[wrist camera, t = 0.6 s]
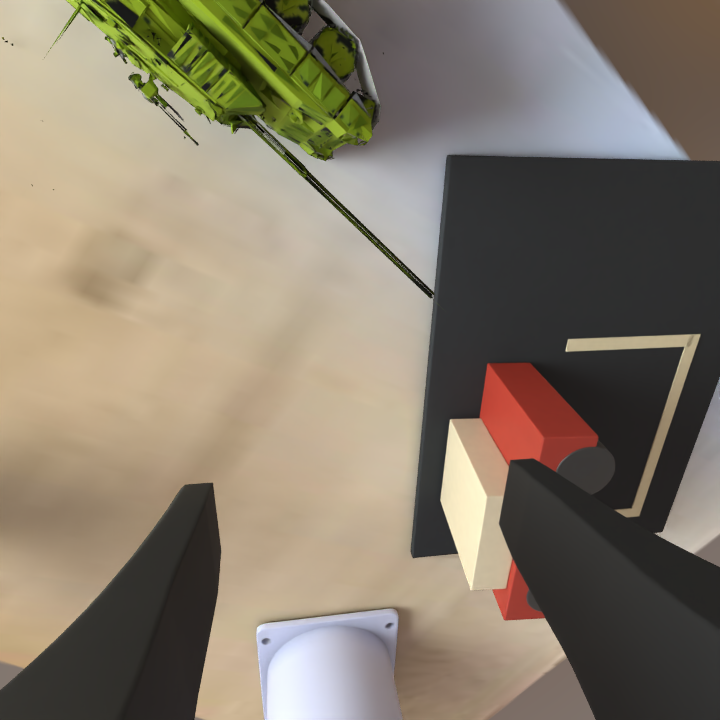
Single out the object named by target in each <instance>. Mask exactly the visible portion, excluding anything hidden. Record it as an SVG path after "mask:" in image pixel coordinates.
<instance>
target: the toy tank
mask: <svg viewBox="0 0 720 720" xmlns="http://www.w3.org/2000/svg"><path fill="white" fill-rule="evenodd" d="M66 1H67V2H68V3H70V4H71V5H72V6H73V7H74V8H75V9H76V10H75V12H74V13H73V15H72V16H71V18H70V19H69V21H68V23H69V22H70V20H71V19H72V18H73V19H72V20H71V22H72V21H73V20H74V18H75V17H76V15H77V14H78V13H81V14H82V15H83V16H84V17H85V18H86V19H87V20H88V21H91V22H92V23H93V24H95V25H96V26H97V27H98V28H99V29H100V30H101V31H103V32H104V33H105V34H106V35H107V37H105V40H108V41H109V42H110V43H111V44H113V45H114V47H115V48H116V49H115V48H114V47H113V48H114V49H115V53H113V54H114V56H115V57H117V56H119V55H120V56H121V57H122V59H123V61H124V62H125V63H127V62H126V60H125V59H124V58H125V57H127V56H128V57H127V58H129V60H130V61H131V62H132V64H134V65H135V66H136V67H138V68H140V69H142V70H143V71H145V72H146V73H147V74H148V73H150V76H149V81H148V82H147V83H146V84H145V83H142V81H141V77H142V76H141V75H139V74H133V75H130V76H129V77H128V79H129V80H131V81H132V83H133V84H134V86H135V88H136V89H138V88H139V89H140V90H141V91H142V92H143V93H144V94H143V93H142V94H143V96H144V98H145V99H146V100H148V101H149V102H150V103H153V102H154V103H155V105H156V106H159V105H158V104H159V103H158V102H157V101H158V100H159V101H160V102H161V103H162V104H163V105H164V106H163V105H161V106H162V107H163V108H164V109H165V110H166V108H165V107H167V106H169V107H170V108H171V109H172V110H173V111H174V112H175V113H176V114H177V115H178V117H179V118H181V119H182V117H181V116H180V115H179V114H178V112H177V111H176V110H174V109H173V108H172V107H171V106H170V105H169V104H168V103H167V102H166V101H165V100H164V99H163V98H162V97H161V96H160V95H159V94H158V88H157V87H156V85H155V84H154V82H153V80H155V79H157V78H158V79H159V80H160V81H161V82H163V83H164V84H165V85H166V86H167V87H168V88H170V89H171V90H172V91H174V92H175V93H177V94H178V95H179V96H181V97H182V98H183V99H185V100H186V101H187V102H189V103H190V104H191V105H192V106H194V107H195V108H196V109H195V111H196V112H197V113H198V114H199V115H200V116H201V114H204V115H206V117H207V119H208V120H209V118H210V119H211V120H212V121H214V120H217V121H218V122H219V123H220V124H221V125H222V124H225V125H231V126H230V127H231V131H232V134H233V133H234V131H235V130H236V129H237V128H238V127H239V128H248V129H252V130H253V131H254V132H255V133H256V134H257V135H258V136H259V137H261V138H262V139H263V140H264V141H265V142H266V143H267V144H268V145H269V146H270V147H271V148H272V149H273V150H274V151H275V152H276V153H278V154H279V155H280V156H281V157H282V158H283V159H284V160H285V161H286V162H288V164H289V165H290V166H291V167H292V168H293V169H294V170H296V171H297V172H298V173H299V175H301V176H302V177H303V178H304V179H306V180H307V181H308V182H309V183H310V184H311V185H312V186H313V187H314V188H315V189H316V190H317V191H318V192H319V193H320V194H321V195H323V196H324V197H325V198H326V199H327V200H328V201H329V202H330V203H331V204H332V205H333V206H334V207H335V208H336V209H337V210H338V211H339V212H340V213H341V214H342V215H344V216H345V217H346V218H347V219H348V220H349V221H350V222H351V223H352V224H353V225H354V226H355V227H356V228H357V229H358V230H359V231H360V232H361V233H362V234H363V235H364V236H366V237H367V238H368V239H369V240H370V241H371V242H372V243H373V244H374V245H375V246H376V247H377V248H378V249H379V250H380V251H381V252H382V253H383V254H384V255H385V256H386V257H388V258H389V259H390V260H391V261H392V262H393V263H394V264H395V265H396V266H397V267H398V268H399V269H400V270H401V271H402V272H403V273H404V274H405V275H406V276H407V277H408V278H410V279H411V280H412V281H413V282H414V283H415V284H416V285H417V286H418V287H419V288H420V289H421V290H422V291H423V292H424V293H425V294H426V295H427V296H428V297H429V298H433V297H432V296H433V295H435V293H434V292H433V291H432V290H431V289H430V288H428V287H427V286H426V285H425V284H424V283H423V282H422V281H421V280H420V279H419V278H418V277H417V276H416V275H415V274H414V273H413V272H412V271H411V270H410V269H409V268H408V267H407V266H406V265H405V264H404V263H403V262H401V261H400V260H399V259H398V258H397V257H396V256H395V255H394V254H393V253H392V252H391V251H390V250H389V249H388V248H387V247H386V246H385V245H384V244H383V243H382V242H381V241H380V240H379V239H378V238H377V237H376V236H375V235H373V234H372V233H371V232H370V231H369V230H368V229H367V228H366V227H365V226H364V225H363V224H362V223H361V222H360V221H359V220H358V219H357V218H356V217H355V216H354V215H353V214H352V213H351V212H350V211H349V210H348V209H347V208H345V207H344V206H343V205H342V204H341V203H340V202H339V201H338V200H337V199H336V198H335V197H334V196H333V195H332V194H331V193H330V192H329V191H328V190H327V189H326V188H325V187H324V186H323V185H322V184H321V183H320V182H319V181H318V180H317V179H316V178H315V177H314V176H313V175H312V174H311V173H310V172H309V171H308V170H307V169H306V168H305V166H304V165H303V164H302V163H301V162H300V161H299V160H298V159H297V158H296V157H295V156H293V155H292V154H291V153H290V152H289V151H288V150H287V149H286V148H285V147H284V146H283V145H282V144H281V143H280V142H279V141H278V140H277V139H276V138H275V137H274V136H273V135H271V134H270V133H269V132H268V131H267V130H266V129H265V128H264V127H263V126H262V125H261V124H260V123H259V122H258V121H257V120H256V118H255V116H254V115H257V116H258V117H259V118H260V119H262V120H263V121H264V122H265V124H267V126H268V127H269V128H270V129H273V130H274V131H276V132H277V134H279V135H281V136H283V137H285V138H287V139H289V140H291V141H293V142H294V143H296V144H298V145H300V147H301V148H302V149H303V150H304V151H306V152H307V153H308V154H309V155H311V156H313V157H315V158H317V159H318V158H319V159H321V160H324V161H326V160H327V159H330V160H331V158H332V159H334V158H333V151H334V150H336V149H337V148H339V147H341V146H343V145H344V144H346V143H348V144H352V145H358V138H360V139H362V140H364V141H366V142H365V143H363V144H361V145H365V144H366V143H367V142H368V140H369V139H370V138H371V137H372V130H373V128H374V127H375V125H376V124H377V123H378V122H379V117H380V110H381V105H380V102H379V99H378V96H377V92H376V89H375V86H374V83H373V79H372V76H371V73H370V70H369V66H368V63H367V60H366V57H365V54H364V50H363V47H362V44H361V41H360V39H358V38H357V36H356V35H355V34H354V33H353V32H352V31H351V30H350V29H349V28H348V26H347V25H346V24H345V23H344V22H343V21H342V20H341V19H340V17H339V16H338V15H337V14H336V13H335V12H334V11H333V10H332V9H331V7H330V6H329V5H328V4H327V3H326V2H325V1H324V0H66ZM308 4H309V5H310V6H311V7H310V9H309V5H308ZM312 8H313V9H314V11H315V12H316V13H317V14H318V15H319V16H320V17H321V18H322V19H323V20H324V21H325V22H326V23H327V24H328V25H327V26H326V25H325V26H326V27H325V26H324V27H325V28H324V27H323V28H322V29H321V30H322V31H319V32H318V33H317V34H316V35H315V36H314V38H313V39H312V40H311V41H310V42H309V43H308V42H307V41H306V40H305V39H304V38H303V37H302V36H300V35H302V33H303V30H304V28H305V27H306V25H307V24H308V22H309V16H311V11H310V10H312ZM76 12H77V13H76ZM309 12H310V13H309ZM75 13H76V14H75ZM74 15H75V16H74ZM73 16H74V17H73ZM71 22H70V23H69V25H70V24H71ZM68 23H67V24H66V26H67V25H68ZM69 25H68V26H69ZM66 26H65V27H64V29H65V28H66ZM68 26H67V28H68ZM67 28H66V29H67ZM64 29H63V30H64ZM66 29H65V31H66ZM63 30H62V32H63ZM65 31H64V32H65ZM62 32H61V33H62ZM64 32H63V33H64ZM61 33H60V35H61ZM60 35H59V36H60ZM62 35H63V34H62ZM62 35H61V36H62ZM59 36H58V38H59ZM108 37H109V38H110V39H109V38H108ZM58 38H57V39H58ZM60 38H61V37H60ZM60 38H59V39H60ZM2 39H3V40H4V37H2ZM57 39H56V40H57ZM5 42H8V41H5ZM55 42H56V41H55ZM55 42H54V43H55ZM57 42H58V41H57ZM11 45H12V46H13V44H11ZM53 45H54V44H53ZM53 45H52V46H53ZM51 48H52V47H51ZM51 48H50V49H51ZM48 52H49V51H48ZM124 54H125V55H124ZM46 55H47V54H46ZM383 55H384V53H383ZM44 58H45V57H44ZM354 65H355V68H356V71H357V75H358V78H359V81H360V85H361V88H362V90H361V92H363V95H364V96H363V95H361V94H358V93H357V92H358V91H360V90H359V89H357V92H354V91H353V92H352V94H350V93H349V92H350V91H349V90H348V89H347V88H346V86H345V85H344V84H343V82H345V81H346V80H348V78H349V76H350V75H351V73H352V72H354V69H355V68H354ZM156 77H157V78H156ZM161 86H162V87H164V89H166V90H167V92H168V90H169V89H168V88H167V87H166V86H164V85H163V84H162V85H161ZM139 89H138V90H139ZM157 95H158V96H157ZM154 96H155V97H156V98H157V99H158V100H157V99H156V98H154ZM149 98H150V99H151V100H152V101H153V102H152V101H151V100H150V99H149ZM160 98H161V99H160ZM161 106H159V107H160V108H161V109H162V107H161ZM162 110H163V109H162ZM163 111H164V110H163ZM166 111H167V110H166ZM164 112H165V111H164ZM167 112H168V111H167ZM165 113H166V112H165ZM168 113H169V112H168ZM166 114H167V113H166ZM169 114H170V113H169ZM167 115H168V114H167ZM170 115H171V114H170ZM168 116H169V115H168ZM171 116H172V115H171ZM169 117H170V116H169ZM172 117H173V116H172ZM170 118H171V117H170ZM173 118H174V117H173ZM171 119H172V118H171ZM174 119H175V118H174ZM172 120H173V119H172ZM175 120H176V119H175ZM182 120H183V119H182ZM41 121H42V120H41ZM173 121H174V120H173ZM176 121H177V120H176ZM217 121H216V122H217ZM42 122H43V121H42ZM174 122H175V121H174ZM177 122H178V121H177ZM209 122H210V121H209ZM175 123H176V122H175ZM178 123H179V122H178ZM176 124H177V123H176ZM179 124H180V123H179ZM179 124H177V125H178V126H179V127H180V128H181V129H182V130H183V131H184V132H183V133H185V134H186V135H187V136H189V137H190V138H191V139H192V140H193V141H194V142H195V143H196V144H197V145H199V144H198V142H197V141H195V140H194V139H193V138H192V137H191V136H190V135H189V134H188V132H187V131H186V130H187V129H186V128H185V127H184V126H183V125H181V124H180V125H181V126H182V127H183V128H184V129H185V130H184V129H183V128H182V127H181V126H180V125H179ZM210 124H211V123H210ZM257 124H258V125H259V124H260V125H261V126H262V127H263V128H264V130H265V131H266V132H267V133H268V134H269V135H270V136H271V137H272V138H273V139H274V140H275V141H276V142H277V143H278V144H279V145H280V144H281V145H282V146H283V147H282V146H281V145H280V146H281V147H282V148H281V147H280V146H279V145H278V144H277V143H276V142H275V141H274V140H273V139H272V138H271V137H270V136H269V135H268V134H267V133H266V132H265V131H264V130H263V129H262V128H261V127H260V126H258V125H257ZM372 125H373V126H372ZM256 126H257V127H258V128H259V129H260V130H261V131H262V132H263V133H264V132H265V133H266V134H267V135H268V136H269V137H270V138H271V139H272V140H273V141H274V142H275V143H276V144H277V145H278V146H279V147H280V148H281V149H282V150H283V152H284V153H285V154H286V155H287V156H288V157H289V158H290V159H291V160H292V161H293V162H294V163H295V164H296V165H297V166H298V167H299V168H300V169H301V170H302V171H303V172H302V171H301V170H300V169H299V168H298V167H297V166H296V165H295V164H294V163H293V162H292V161H291V160H290V159H289V158H288V157H287V156H286V155H285V154H284V153H283V152H282V151H281V150H280V151H281V152H282V153H283V154H284V155H285V156H286V157H287V158H286V157H285V156H284V155H283V154H282V153H281V152H280V151H279V150H278V149H277V148H276V147H274V146H273V145H272V144H271V143H270V142H271V141H272V140H271V139H270V138H269V137H268V136H267V135H266V134H265V133H264V134H265V135H266V136H267V137H268V138H269V139H270V140H271V141H270V140H269V139H268V138H267V137H266V138H267V139H268V140H269V141H270V142H269V141H268V140H267V139H266V138H265V137H264V136H263V134H262V132H261V131H260V130H259V129H258V128H256ZM255 129H256V130H257V131H258V132H259V133H260V134H261V135H260V134H259V133H258V132H257V131H256V130H255ZM237 130H238V129H237ZM237 130H236V131H235V132H237ZM357 137H358V138H357ZM184 138H186V137H185V136H184ZM273 141H272V142H273ZM364 141H361V142H360V143H362V142H364ZM274 142H273V143H274ZM275 143H274V144H275ZM360 143H359V144H360ZM276 144H275V145H276ZM277 145H276V146H277ZM278 146H277V147H278ZM275 148H276V149H277V150H278V151H279V152H280V153H279V152H278V151H277V150H276V149H275ZM307 175H308V176H309V177H310V178H311V179H312V180H313V181H314V182H315V183H316V184H317V185H318V186H319V187H320V188H321V189H322V190H323V191H324V192H325V193H326V194H328V195H329V196H330V197H331V198H332V199H333V200H334V201H335V202H336V203H337V204H338V205H339V206H340V207H341V208H342V209H343V210H344V211H345V212H346V213H347V214H348V215H349V216H350V217H352V218H353V219H354V220H355V221H356V222H357V223H358V224H359V225H360V226H361V227H362V228H363V229H364V230H365V231H366V232H367V233H368V234H369V235H370V236H371V237H372V236H373V237H374V238H375V239H376V240H377V241H378V242H377V241H376V240H375V239H374V238H373V237H372V238H373V239H374V240H375V241H376V242H377V243H376V242H375V241H374V240H373V239H372V238H371V237H370V236H369V235H368V234H367V233H366V232H365V231H364V230H363V229H362V228H361V227H360V226H359V225H358V224H357V223H356V222H355V221H354V220H352V219H351V218H350V217H349V216H348V215H347V214H346V213H345V212H344V211H343V210H342V209H341V208H340V207H339V206H338V205H337V204H336V203H335V202H334V201H333V200H332V199H331V198H330V197H329V196H327V195H326V194H325V193H324V192H323V191H322V190H321V189H320V188H319V187H318V186H317V185H316V184H315V183H314V182H313V181H312V180H311V179H310V178H309V177H308V176H307ZM306 176H307V177H308V178H309V179H310V180H309V179H308V178H307V177H306ZM32 186H33V185H32ZM53 190H54V189H53ZM332 201H333V202H332ZM355 224H356V225H357V226H358V227H357V226H356V225H355ZM380 245H381V246H382V247H383V248H384V249H385V250H386V251H387V252H388V253H389V254H390V255H391V256H392V257H393V258H394V259H395V260H396V261H397V260H398V261H399V262H400V263H401V264H402V265H403V266H404V267H405V268H406V269H407V270H408V271H409V272H408V271H407V270H406V269H405V268H404V267H403V266H402V265H401V264H400V263H399V262H398V261H397V262H398V263H399V264H400V265H399V264H398V263H397V262H396V261H395V260H394V259H393V258H392V257H391V256H390V255H389V254H388V253H387V252H386V251H385V250H384V249H383V248H382V247H381V246H380ZM380 248H381V249H380ZM411 275H412V276H414V277H415V278H416V279H417V280H418V281H419V283H420V284H419V283H418V282H417V281H416V280H415V279H414V278H413V277H412V276H411ZM427 289H428V290H429V291H430V292H431V293H432V294H433V295H432V294H431V293H430V292H429V291H428V290H427ZM443 310H444V309H443Z"/></svg>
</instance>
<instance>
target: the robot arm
mask: <svg viewBox="0 0 720 720" xmlns="http://www.w3.org/2000/svg"><path fill="white" fill-rule="evenodd" d="M499 526H500V528H501V531H502V534H503V536H504V539H505V541H506V544H507V546H508V549H509V551H510V553H511V556H512V558H513V561H514V563H515V564H516V566H517V568H518V570H519V572H520V574H521V575H522V577H523V579H524V581H525V583H526V585H527V586H528V588H529V590H530V592H531V593H532V595H533V597H534V599H535V601H536V602H537V604H538V606H539V608H540V609H541V611H542V613H543V615H544V616H545V618H546V620H547V622H548V623H549V625H550V627H551V629H552V631H553V632H554V634H555V636H556V638H557V639H558V641H559V643H560V645H561V646H562V648H563V650H564V652H565V654H566V656H567V658H568V660H569V662H570V664H571V666H572V668H573V670H574V672H575V674H576V677H577V679H578V681H579V683H580V685H581V688H582V690H583V692H584V694H585V696H586V699H587V701H588V703H589V705H590V708H591V710H592V712H593V714H594V717H595V719H596V720H720V567H718V566H716V565H714V564H712V563H710V562H708V561H706V560H704V559H702V558H700V557H698V556H696V555H694V554H692V553H690V552H688V551H686V550H684V549H682V548H680V547H678V546H676V545H674V544H672V543H670V542H669V541H667V540H665V539H663V538H661V537H659V536H658V535H656V534H654V533H652V532H651V531H649V530H647V529H645V528H644V527H642V526H640V525H639V524H637V523H635V522H633V521H632V520H630V519H628V518H627V517H625V516H623V515H622V514H620V513H618V512H617V511H615V510H614V509H612V508H610V507H609V506H607V505H606V504H604V503H603V502H601V501H599V500H598V499H596V498H595V497H593V496H592V495H590V494H589V493H587V492H586V491H584V490H582V489H581V488H579V487H578V486H576V485H575V484H573V483H572V482H570V481H569V480H567V479H566V478H564V477H563V476H561V475H560V474H558V473H557V472H555V471H553V470H552V469H550V468H549V467H547V466H546V465H544V464H542V463H541V462H539V461H537V460H535V459H534V458H530V459H517V460H510V464H509V470H508V475H507V481H506V486H505V492H504V497H503V503H502V508H501V514H500V519H499ZM220 559H221V545H220V537H219V529H218V521H217V513H216V505H215V496H214V488H213V483H201V484H188V485H184V486H183V487H182V488H181V489H180V491H179V492H178V494H177V495H176V497H175V498H174V500H173V501H172V503H171V504H170V506H169V507H168V509H167V510H166V512H165V513H164V514H163V516H162V517H161V519H160V520H159V521H158V523H157V524H156V526H155V527H154V528H153V530H152V531H151V532H150V534H149V535H148V536H147V538H146V539H145V540H144V542H143V543H142V544H141V545H140V547H139V548H138V549H137V551H136V552H135V553H134V555H133V556H132V557H131V558H130V560H129V561H128V562H127V563H126V564H125V566H124V567H123V568H122V569H121V570H120V571H119V573H118V574H117V575H116V576H115V577H114V579H113V580H112V581H111V582H110V583H109V584H108V586H107V587H106V588H105V589H104V590H103V591H102V592H101V594H100V595H99V596H98V597H97V598H96V599H95V600H94V601H93V602H92V603H91V605H90V606H89V607H88V608H87V609H86V610H85V611H84V612H83V613H82V614H81V615H80V616H79V617H78V618H77V619H76V620H75V621H74V622H73V623H72V624H71V625H70V626H69V627H68V628H67V629H66V630H65V631H64V632H63V633H62V634H61V635H60V636H59V637H58V638H57V639H56V640H55V641H54V642H53V643H52V644H51V645H50V646H49V647H48V648H46V649H45V650H44V651H43V652H42V653H41V654H40V655H39V656H38V657H37V658H36V659H35V660H34V661H33V662H31V663H30V664H29V665H28V666H27V667H26V668H25V669H24V670H23V671H22V672H20V673H19V674H18V675H17V676H16V677H15V678H14V679H13V680H11V681H10V682H9V683H8V684H7V685H6V686H5V687H3V688H2V689H1V690H0V720H194V718H195V712H196V705H197V699H198V693H199V688H200V683H201V678H202V673H203V668H204V663H205V657H206V652H207V647H208V642H209V637H210V632H211V627H212V621H213V616H214V611H215V606H216V600H217V595H218V584H219V572H220ZM398 622H399V617H398V613H397V611H396V610H395V609H390V608H389V609H381V610H372V611H364V612H356V613H347V614H339V615H331V616H322V617H314V618H305V619H297V620H289V621H280V622H272V623H265V624H262V625H260V626H259V627H258V628H257V647H258V657H259V668H260V679H261V689H262V700H263V711H264V720H403V717H402V712H401V708H400V703H399V698H398V694H397V689H396V685H395V680H394V669H395V658H396V646H397V634H398Z"/></svg>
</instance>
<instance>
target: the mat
mask: <svg viewBox="0 0 720 720" xmlns="http://www.w3.org/2000/svg"><path fill="white" fill-rule="evenodd" d="M434 293H435V295H434V302H433V313H432V324H431V335H430V345H429V356H428V367H427V378H426V389H425V400H424V411H423V422H422V433H421V444H420V455H419V466H418V477H417V488H416V498H415V509H414V520H413V531H412V542H411V554H412V557H413V558H418V557H428V556H437V555H447V554H457V553H458V551H457V548H456V545H455V542H454V539H453V536H452V533H451V530H450V527H449V524H448V522H447V519H446V516H445V513H444V510H443V507H442V504H441V501H440V499H441V491H442V482H443V474H444V465H445V457H446V448H447V440H448V431H449V423H450V419H478V418H480V411H481V404H482V397H483V391H484V384H485V377H486V370H487V364H488V363H531V364H532V365H533V367H534V368H535V369H536V370H537V371H538V372H539V373H540V374H541V375H542V376H543V377H544V378H545V379H546V380H547V382H548V383H549V384H550V385H551V386H552V387H553V388H554V389H555V390H556V391H557V392H558V393H559V394H560V395H561V397H562V398H563V399H564V400H565V401H566V402H567V403H568V404H569V405H570V406H571V407H572V408H573V409H574V410H575V412H576V413H577V414H578V415H579V416H580V417H581V418H582V419H583V420H584V421H585V422H586V423H587V424H588V425H589V427H590V428H591V429H592V430H593V431H594V432H595V433H596V434H597V435H598V437H599V438H598V440H599V441H600V442H601V443H602V444H603V445H604V446H605V447H606V449H607V450H608V451H609V452H610V453H611V454H612V456H613V458H614V461H615V471H614V474H613V476H612V478H611V480H610V481H609V482H608V484H607V485H606V486H605V487H603V488H602V489H601V490H599V491H598V492H596V493H594V494H591V495H592V496H593V497H595V498H596V499H598V500H599V501H601V502H603V503H604V504H606V505H607V506H609V507H610V508H612V509H614V510H615V511H617V512H618V513H620V514H622V515H623V516H625V517H627V518H628V519H630V520H632V521H633V522H635V523H637V524H639V525H640V526H642V527H644V528H645V529H647V530H649V531H651V532H652V533H657V532H662V531H663V529H664V526H665V523H666V521H667V518H668V515H669V513H670V510H671V507H672V505H673V502H674V499H675V496H676V494H677V491H678V488H679V486H680V483H681V480H682V478H683V475H684V472H685V469H686V467H687V464H688V461H689V459H690V456H691V453H692V451H693V448H694V445H695V442H696V440H697V437H698V434H699V432H700V429H701V426H702V424H703V421H704V418H705V415H706V413H707V410H708V407H709V405H710V402H711V399H712V397H713V394H714V391H715V388H716V386H717V383H718V380H719V378H720V161H689V160H643V159H597V158H551V157H505V156H460V155H448V156H447V160H446V171H445V182H444V192H443V203H442V214H441V225H440V236H439V247H438V258H437V269H436V280H435V291H434ZM443 309H444V310H443Z"/></svg>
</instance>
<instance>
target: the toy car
mask: <svg viewBox="0 0 720 720" xmlns="http://www.w3.org/2000/svg"><path fill="white" fill-rule="evenodd" d="M598 438H599V437H598V435H597V434H596V433H595V432H594V431H593V430H592V429H591V428H590V427H589V425H588V424H587V423H586V422H585V421H584V420H583V419H582V418H581V417H580V416H579V415H578V414H577V413H576V412H575V410H574V409H573V408H572V407H571V406H570V405H569V404H568V403H567V402H566V401H565V400H564V399H563V398H562V397H561V395H560V394H559V393H558V392H557V391H556V390H555V389H554V388H553V387H552V386H551V385H550V384H549V383H548V382H547V380H546V379H545V378H544V377H543V376H542V375H541V374H540V373H539V372H538V371H537V370H536V369H535V368H534V367H533V365H532V364H531V363H488V364H487V370H486V377H485V384H484V391H483V397H482V404H481V411H480V418H478V419H450V423H449V431H448V440H447V448H446V457H445V465H444V474H443V482H442V491H441V499H440V501H441V504H442V507H443V510H444V513H445V516H446V519H447V522H448V524H449V527H450V530H451V533H452V536H453V539H454V542H455V545H456V548H457V551H458V554H459V557H460V560H461V563H462V566H463V569H464V572H465V575H466V577H467V580H468V583H469V586H470V589H471V590H491V589H492V590H493V593H494V595H495V598H496V600H497V603H498V606H499V608H500V611H501V613H502V616H503V618H504V620H520V619H538V618H545V616H544V615H543V613H542V611H541V609H540V608H539V606H538V604H537V602H536V601H535V599H534V597H533V595H532V593H531V592H530V590H529V588H528V586H527V585H526V583H525V581H524V579H523V577H522V575H521V574H520V572H519V570H518V568H517V566H516V564H515V563H514V561H513V558H512V556H511V553H510V551H509V549H508V546H507V544H506V541H505V539H504V536H503V534H502V531H501V528H500V526H499V519H500V514H501V508H502V503H503V497H504V492H505V486H506V481H507V475H508V470H509V464H510V460H517V459H530V458H534V459H535V460H537V461H539V462H541V463H542V464H544V465H546V466H547V467H549V468H550V469H552V470H553V471H555V472H557V473H558V474H560V475H561V476H563V477H564V478H566V479H567V480H569V481H570V482H572V483H573V484H575V485H576V486H578V487H579V488H581V489H582V490H584V491H586V492H587V493H589V494H590V495H591V494H594V493H596V492H598V491H599V490H601V489H602V488H603V487H605V486H606V485H607V484H608V482H609V481H610V480H611V478H612V476H613V474H614V471H615V461H614V458H613V456H612V454H611V453H610V452H609V451H608V450H607V449H606V447H605V446H604V445H603V444H602V443H601V442H600V441H599V440H598Z"/></svg>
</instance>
